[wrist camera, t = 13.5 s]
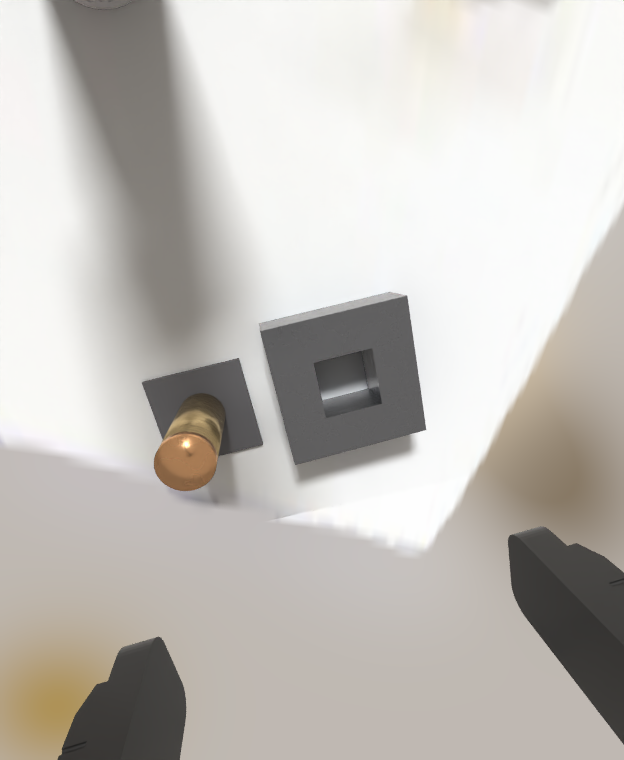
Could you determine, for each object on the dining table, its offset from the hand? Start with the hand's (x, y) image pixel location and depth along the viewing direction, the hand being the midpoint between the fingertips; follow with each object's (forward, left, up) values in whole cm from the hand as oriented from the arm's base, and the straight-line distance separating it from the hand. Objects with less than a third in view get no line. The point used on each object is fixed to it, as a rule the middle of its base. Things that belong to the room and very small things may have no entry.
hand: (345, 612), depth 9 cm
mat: (+6, -9, -34) cm, 36 cm away
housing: (+5, +6, -34) cm, 35 cm away
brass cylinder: (+6, -9, -34) cm, 35 cm away
